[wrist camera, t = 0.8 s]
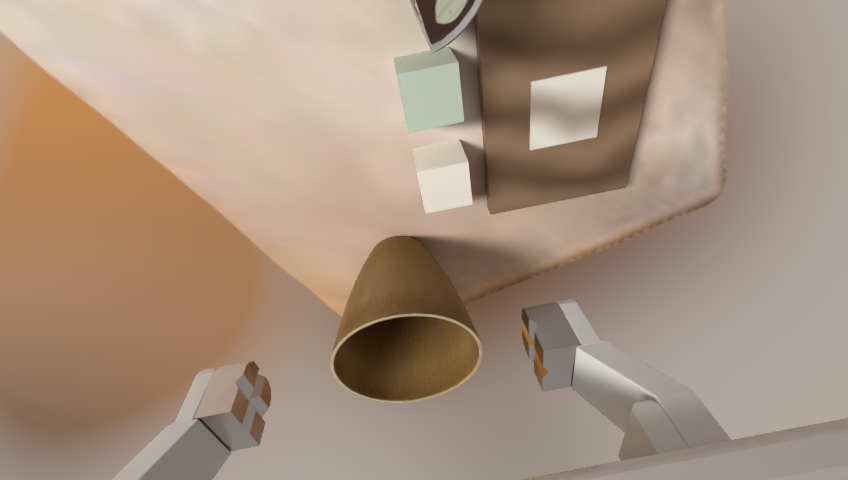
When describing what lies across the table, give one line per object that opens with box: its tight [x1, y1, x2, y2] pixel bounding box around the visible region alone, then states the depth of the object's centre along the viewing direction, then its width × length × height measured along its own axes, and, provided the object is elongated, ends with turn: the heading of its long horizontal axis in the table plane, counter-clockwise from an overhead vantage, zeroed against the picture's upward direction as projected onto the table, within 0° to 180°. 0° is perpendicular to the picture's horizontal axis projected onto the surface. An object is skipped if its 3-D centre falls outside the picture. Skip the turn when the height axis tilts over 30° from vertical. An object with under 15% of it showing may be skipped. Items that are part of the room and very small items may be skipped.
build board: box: [475, 0, 667, 214], centre depth 37 cm, size 22×16×2 cm
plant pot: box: [331, 236, 483, 403], centre depth 43 cm, size 15×15×16 cm
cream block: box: [413, 139, 473, 214], centre depth 39 cm, size 5×5×5 cm
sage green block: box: [394, 47, 464, 133], centre depth 33 cm, size 5×5×5 cm
